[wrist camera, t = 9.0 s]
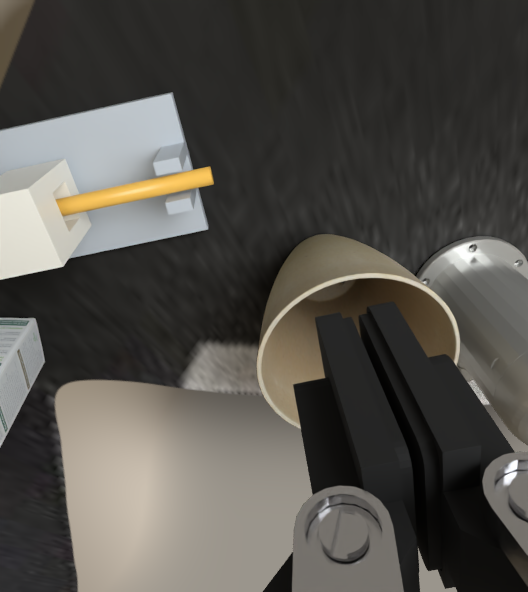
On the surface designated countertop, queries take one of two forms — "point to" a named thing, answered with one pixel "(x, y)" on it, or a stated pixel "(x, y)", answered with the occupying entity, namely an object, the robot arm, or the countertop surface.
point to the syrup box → (17, 366)
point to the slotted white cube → (37, 219)
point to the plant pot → (338, 298)
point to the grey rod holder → (118, 170)
